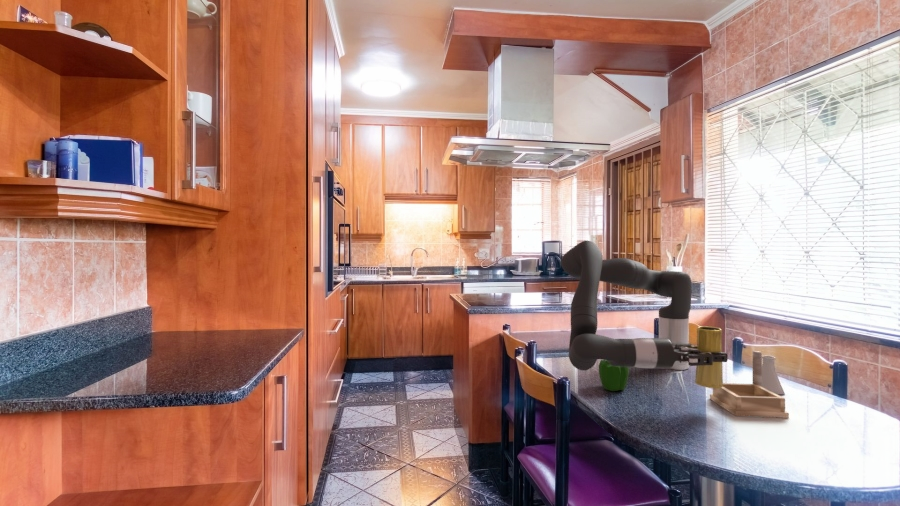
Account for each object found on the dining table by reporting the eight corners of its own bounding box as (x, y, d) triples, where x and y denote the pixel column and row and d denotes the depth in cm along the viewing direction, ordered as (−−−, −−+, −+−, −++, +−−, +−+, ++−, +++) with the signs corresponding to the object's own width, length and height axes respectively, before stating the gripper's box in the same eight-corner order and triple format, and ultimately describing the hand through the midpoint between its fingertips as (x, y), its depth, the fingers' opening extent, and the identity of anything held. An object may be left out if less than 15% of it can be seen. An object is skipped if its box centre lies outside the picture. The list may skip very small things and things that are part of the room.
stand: (708, 398, 113) (709, 350, 113) (758, 399, 112) (758, 351, 112) (735, 416, 101) (736, 362, 101) (792, 418, 100) (792, 363, 100)
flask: (790, 396, 115) (790, 360, 115) (761, 394, 116) (761, 359, 116) (775, 388, 122) (775, 354, 122) (748, 386, 123) (747, 353, 123)
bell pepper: (615, 383, 126) (615, 350, 126) (634, 391, 118) (634, 357, 118) (591, 386, 124) (591, 352, 124) (610, 395, 116) (610, 359, 116)
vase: (698, 378, 109) (699, 324, 109) (726, 384, 104) (726, 328, 104) (691, 384, 105) (692, 328, 104) (720, 390, 100) (720, 331, 100)
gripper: (661, 345, 99) (736, 346, 97) (639, 332, 113) (705, 333, 111) (661, 376, 99) (736, 377, 97) (639, 359, 113) (705, 361, 111)
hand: (719, 354), depth 104 cm, fingers closed on vase, 5 cm apart
